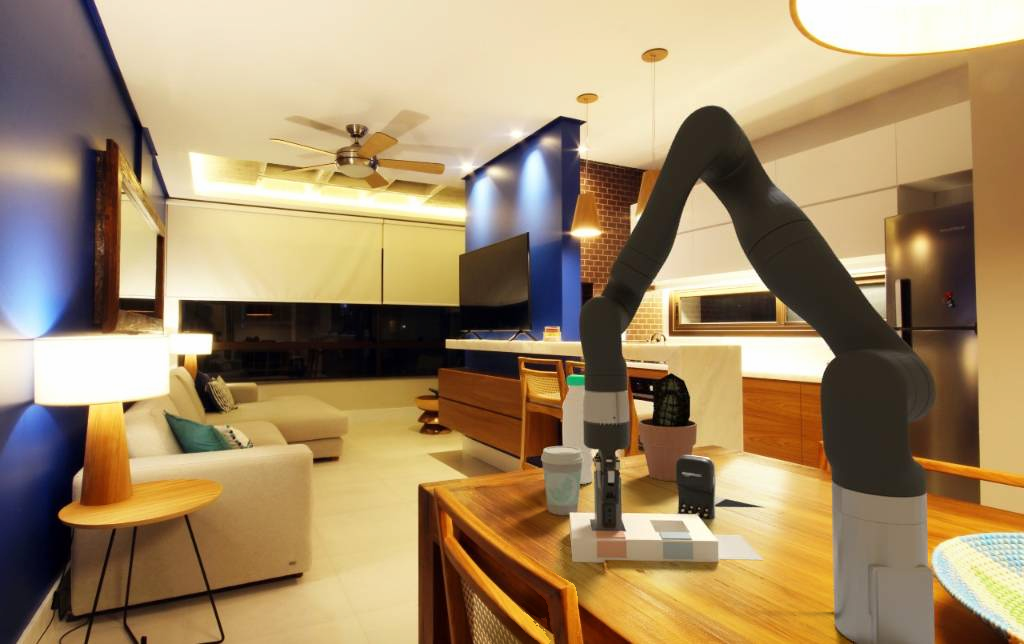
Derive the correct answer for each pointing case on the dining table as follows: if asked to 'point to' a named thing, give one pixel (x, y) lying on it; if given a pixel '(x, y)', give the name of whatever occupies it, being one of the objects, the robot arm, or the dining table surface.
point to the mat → (735, 548)
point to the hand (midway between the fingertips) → (607, 521)
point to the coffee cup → (562, 478)
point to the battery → (696, 486)
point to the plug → (599, 507)
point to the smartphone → (731, 503)
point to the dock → (643, 539)
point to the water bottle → (576, 424)
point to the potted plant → (668, 428)
